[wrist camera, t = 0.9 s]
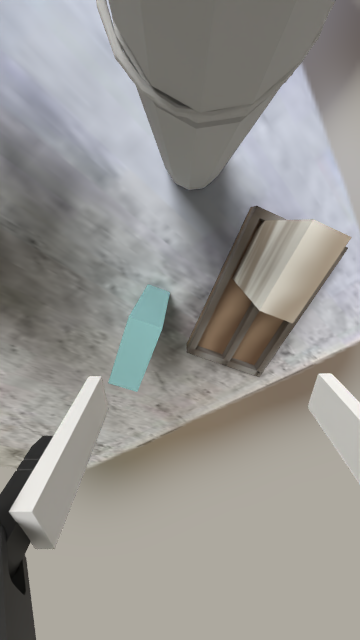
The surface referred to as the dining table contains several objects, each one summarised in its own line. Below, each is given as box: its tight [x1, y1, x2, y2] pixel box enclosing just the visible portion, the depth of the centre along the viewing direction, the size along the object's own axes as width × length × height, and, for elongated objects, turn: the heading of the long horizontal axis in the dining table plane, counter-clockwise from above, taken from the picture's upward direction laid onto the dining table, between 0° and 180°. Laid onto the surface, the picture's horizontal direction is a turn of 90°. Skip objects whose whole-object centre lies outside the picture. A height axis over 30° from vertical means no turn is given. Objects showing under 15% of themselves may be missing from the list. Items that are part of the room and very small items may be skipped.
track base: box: [187, 206, 351, 377], centre depth 27 cm, size 13×22×13 cm, turn 159°
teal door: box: [108, 284, 170, 392], centre depth 28 cm, size 4×9×12 cm, turn 159°
